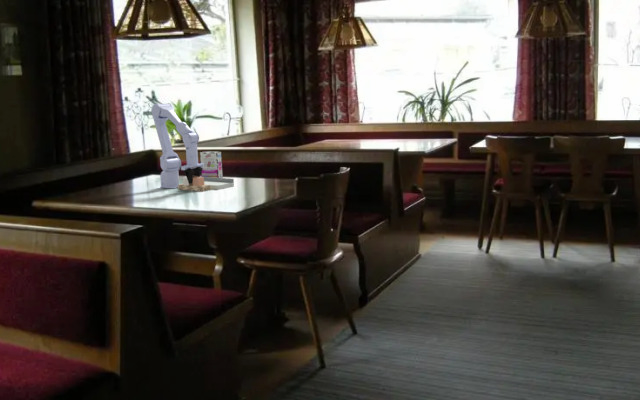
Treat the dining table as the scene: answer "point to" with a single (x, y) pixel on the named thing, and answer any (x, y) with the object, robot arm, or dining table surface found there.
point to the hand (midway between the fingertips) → (193, 182)
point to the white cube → (185, 181)
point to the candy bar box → (211, 164)
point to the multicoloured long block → (194, 187)
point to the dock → (218, 182)
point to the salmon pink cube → (198, 181)
